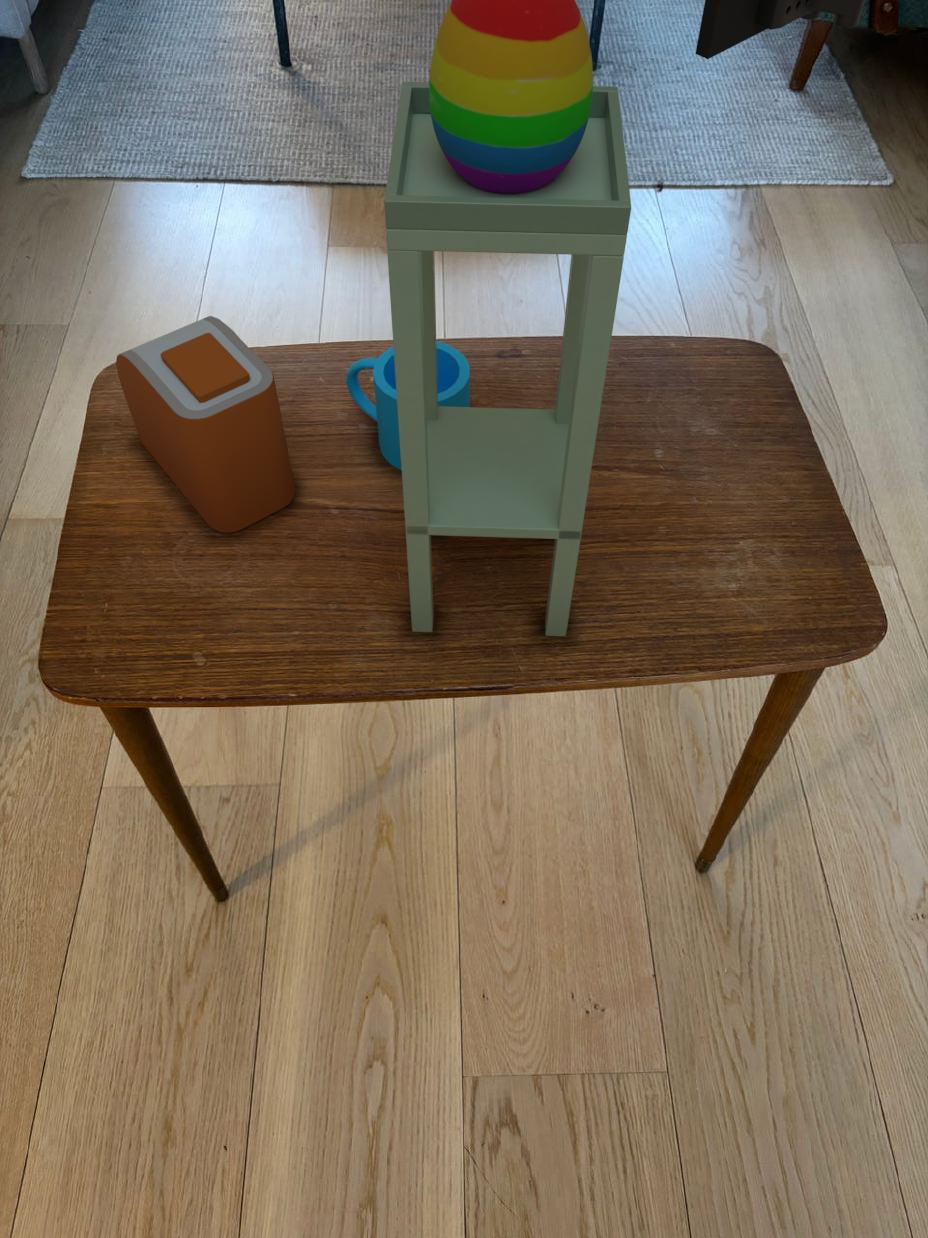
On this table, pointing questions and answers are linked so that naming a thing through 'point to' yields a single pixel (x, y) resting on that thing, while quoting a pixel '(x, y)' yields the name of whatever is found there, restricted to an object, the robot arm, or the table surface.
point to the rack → (565, 437)
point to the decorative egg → (510, 90)
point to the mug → (449, 389)
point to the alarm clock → (211, 422)
